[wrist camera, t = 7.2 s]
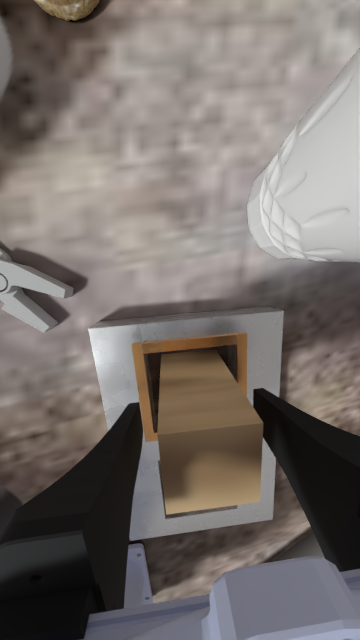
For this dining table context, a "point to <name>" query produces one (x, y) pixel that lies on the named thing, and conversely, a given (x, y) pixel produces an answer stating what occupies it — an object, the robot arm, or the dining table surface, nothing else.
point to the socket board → (135, 386)
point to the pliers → (7, 284)
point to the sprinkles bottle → (68, 8)
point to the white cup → (314, 181)
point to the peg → (206, 435)
